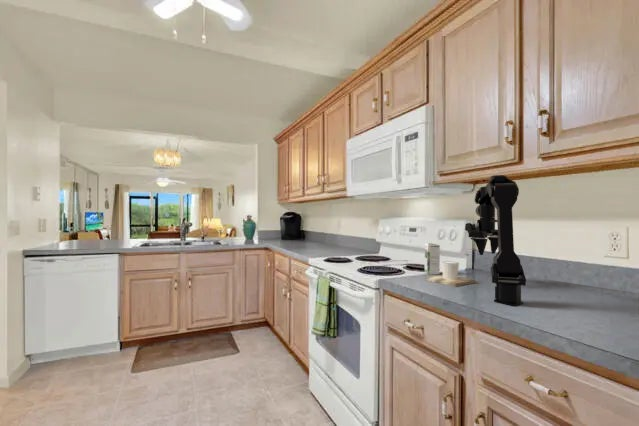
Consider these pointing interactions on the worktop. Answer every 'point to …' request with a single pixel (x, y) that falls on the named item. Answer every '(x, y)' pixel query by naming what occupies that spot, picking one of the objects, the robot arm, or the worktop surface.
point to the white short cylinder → (450, 270)
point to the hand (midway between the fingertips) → (487, 254)
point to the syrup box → (432, 258)
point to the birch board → (455, 283)
